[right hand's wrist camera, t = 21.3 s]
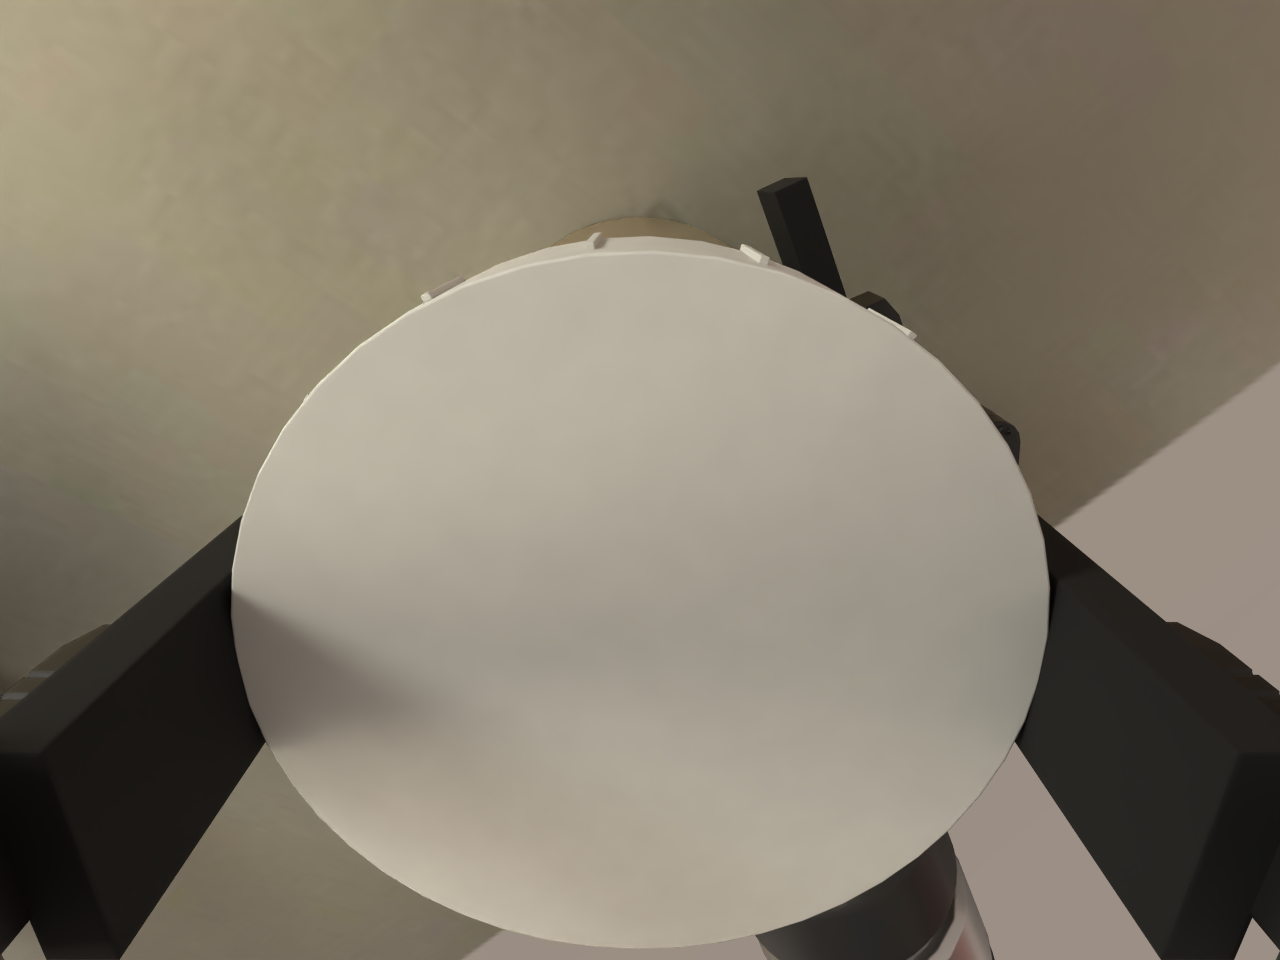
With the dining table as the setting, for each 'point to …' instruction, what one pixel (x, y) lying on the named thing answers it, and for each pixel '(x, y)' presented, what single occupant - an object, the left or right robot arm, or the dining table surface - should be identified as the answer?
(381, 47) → the dining table surface
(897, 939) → the left robot arm
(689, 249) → the lid
